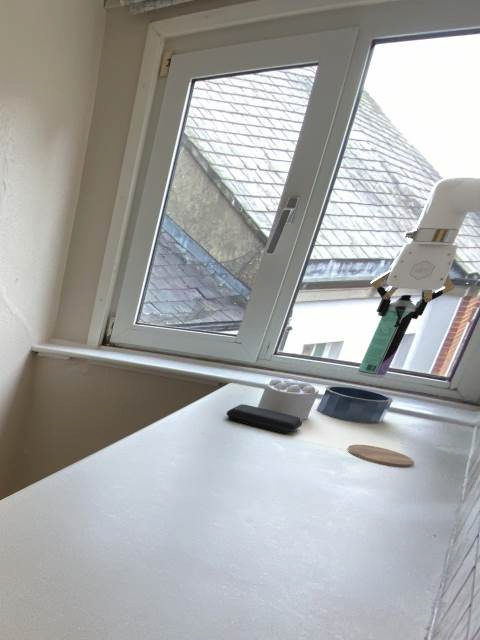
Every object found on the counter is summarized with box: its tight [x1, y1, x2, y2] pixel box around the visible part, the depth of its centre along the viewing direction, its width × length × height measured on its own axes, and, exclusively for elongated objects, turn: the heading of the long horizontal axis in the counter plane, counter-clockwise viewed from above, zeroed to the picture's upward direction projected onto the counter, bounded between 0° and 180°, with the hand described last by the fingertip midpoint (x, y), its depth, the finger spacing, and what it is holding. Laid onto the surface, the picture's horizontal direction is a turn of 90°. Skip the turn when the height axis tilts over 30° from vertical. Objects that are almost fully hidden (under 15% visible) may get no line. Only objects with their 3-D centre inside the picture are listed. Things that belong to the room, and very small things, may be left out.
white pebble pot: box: [257, 378, 320, 421], centre depth 144 cm, size 10×13×9 cm
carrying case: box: [226, 404, 303, 434], centre depth 138 cm, size 11×3×15 cm
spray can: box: [356, 294, 417, 379], centre depth 138 cm, size 6×6×20 cm
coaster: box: [347, 444, 415, 468], centre depth 121 cm, size 11×11×1 cm
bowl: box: [316, 385, 394, 425], centre depth 147 cm, size 14×14×6 cm
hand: (397, 316), depth 136 cm, fingers closed on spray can, 5 cm apart
